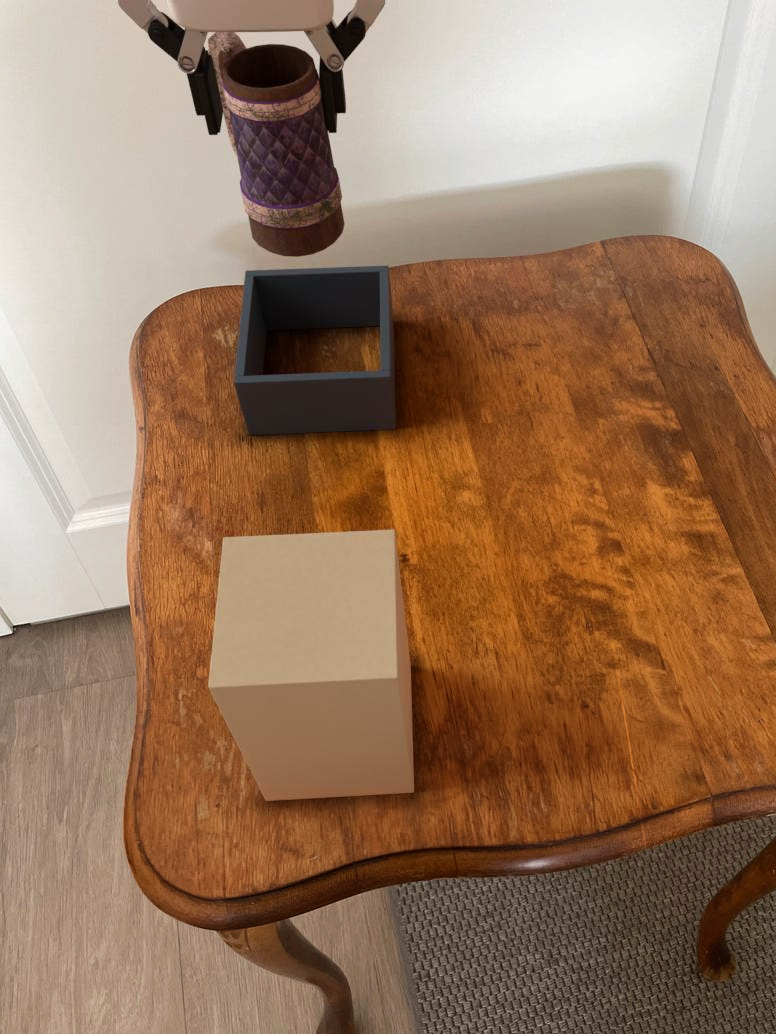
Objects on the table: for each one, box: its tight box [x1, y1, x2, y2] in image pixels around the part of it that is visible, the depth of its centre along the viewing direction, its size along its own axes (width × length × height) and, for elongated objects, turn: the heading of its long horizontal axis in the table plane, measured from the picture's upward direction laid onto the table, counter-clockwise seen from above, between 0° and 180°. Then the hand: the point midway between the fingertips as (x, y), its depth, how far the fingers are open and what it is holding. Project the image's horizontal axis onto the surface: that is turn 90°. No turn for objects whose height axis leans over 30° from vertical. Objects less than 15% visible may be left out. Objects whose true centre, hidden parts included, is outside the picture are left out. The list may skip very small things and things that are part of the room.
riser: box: [207, 528, 415, 802], centre depth 59 cm, size 10×10×16 cm
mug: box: [207, 32, 346, 258], centre depth 65 cm, size 10×7×12 cm
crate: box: [233, 265, 397, 436], centre depth 82 cm, size 13×14×6 cm
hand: (274, 121), depth 64 cm, fingers closed on mug, 7 cm apart
